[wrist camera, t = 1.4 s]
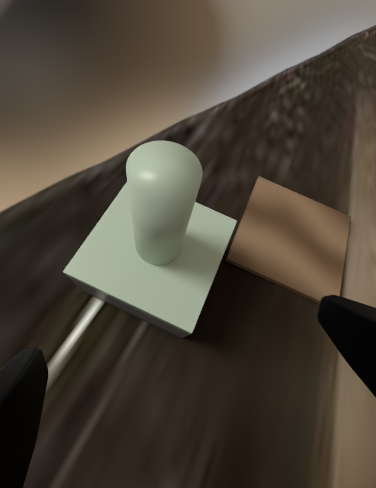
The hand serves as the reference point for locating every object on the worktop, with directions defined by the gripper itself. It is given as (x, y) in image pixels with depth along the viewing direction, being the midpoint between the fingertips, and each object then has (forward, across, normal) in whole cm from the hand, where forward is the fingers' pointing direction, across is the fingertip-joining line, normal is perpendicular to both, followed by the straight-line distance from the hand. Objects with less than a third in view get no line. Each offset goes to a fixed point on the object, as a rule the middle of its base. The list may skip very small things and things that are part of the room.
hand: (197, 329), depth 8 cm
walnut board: (+15, -14, +4) cm, 21 cm away
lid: (+11, 0, +2) cm, 11 cm away
